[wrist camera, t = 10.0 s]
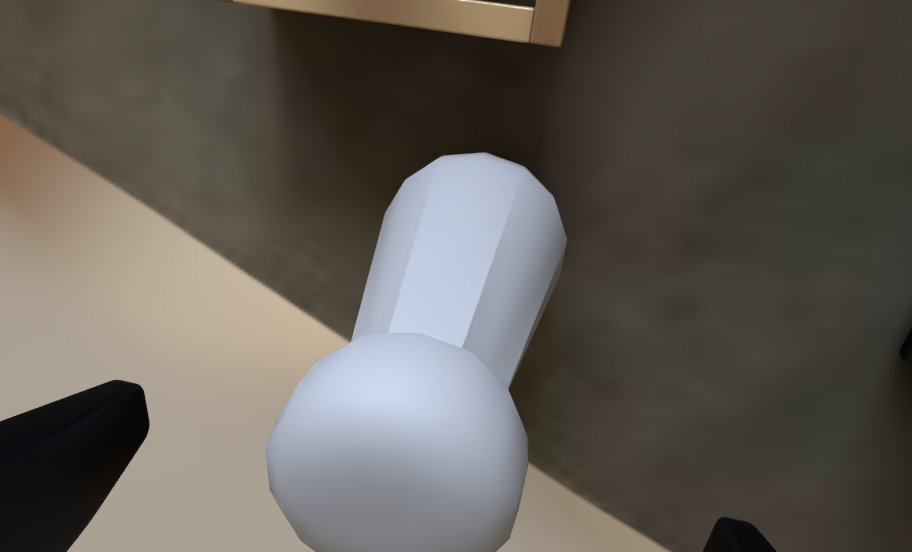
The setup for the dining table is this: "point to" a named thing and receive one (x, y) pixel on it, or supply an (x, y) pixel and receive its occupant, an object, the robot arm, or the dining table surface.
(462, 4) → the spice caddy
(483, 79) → the dining table surface
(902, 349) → the robot arm
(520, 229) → the salt shaker
